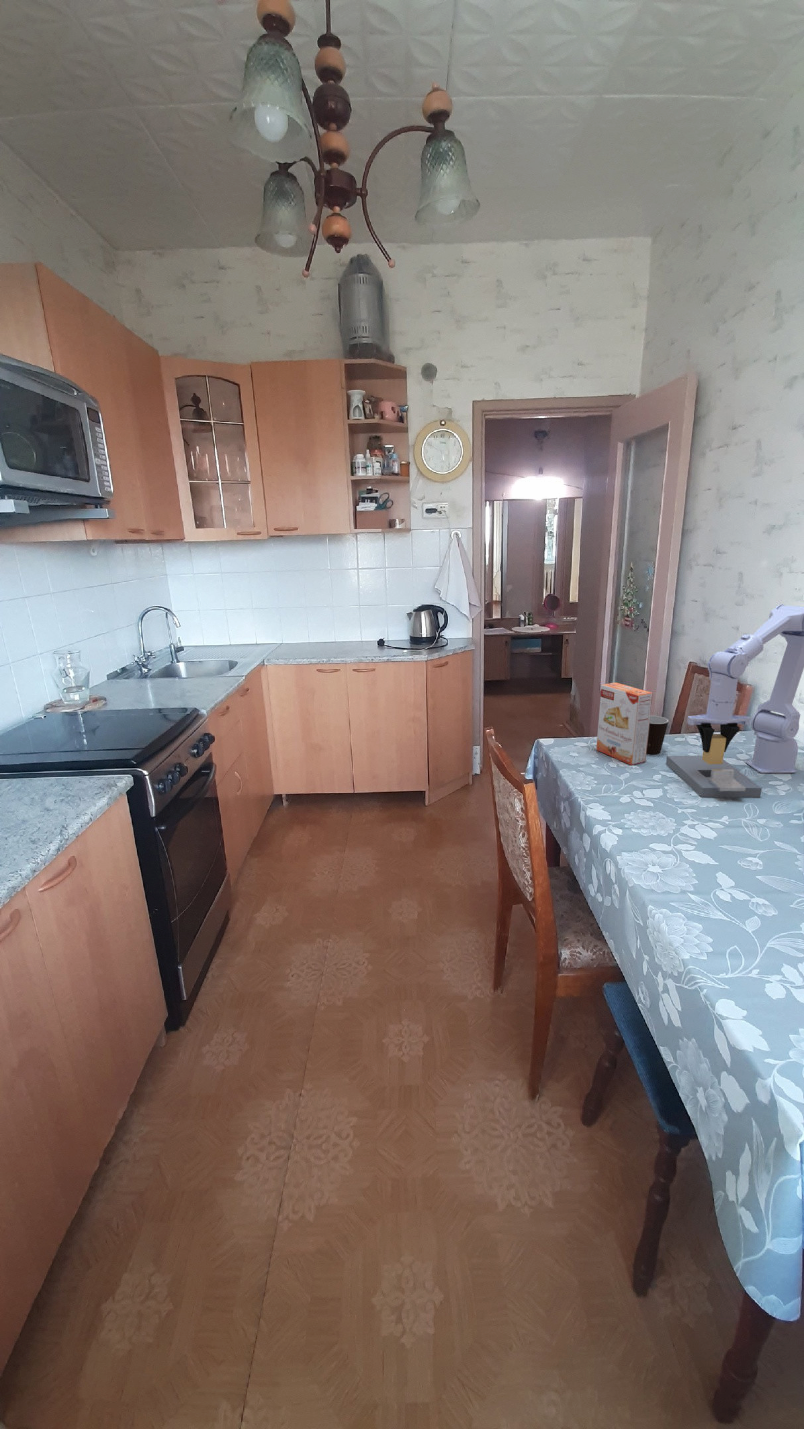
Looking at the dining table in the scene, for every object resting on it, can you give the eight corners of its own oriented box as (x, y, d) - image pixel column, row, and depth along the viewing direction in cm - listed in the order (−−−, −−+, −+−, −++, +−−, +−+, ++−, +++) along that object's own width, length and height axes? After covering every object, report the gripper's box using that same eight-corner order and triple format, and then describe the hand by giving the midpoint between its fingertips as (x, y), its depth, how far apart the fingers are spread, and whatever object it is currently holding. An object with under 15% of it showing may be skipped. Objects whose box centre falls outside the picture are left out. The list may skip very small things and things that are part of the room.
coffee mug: (669, 755, 166) (673, 723, 163) (640, 756, 166) (643, 724, 163) (653, 742, 177) (657, 712, 174) (625, 743, 178) (628, 712, 175)
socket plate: (716, 763, 160) (718, 755, 159) (760, 797, 139) (761, 787, 138) (666, 763, 160) (667, 755, 160) (701, 797, 139) (702, 787, 139)
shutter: (732, 781, 142) (734, 769, 141) (745, 791, 136) (747, 778, 135) (707, 781, 142) (709, 769, 141) (719, 791, 136) (721, 778, 135)
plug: (722, 764, 144) (726, 738, 142) (708, 764, 144) (712, 738, 142) (715, 759, 148) (719, 733, 146) (702, 759, 148) (705, 733, 146)
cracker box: (594, 750, 172) (600, 683, 166) (609, 747, 174) (615, 681, 168) (630, 766, 159) (637, 694, 153) (646, 762, 162) (654, 691, 156)
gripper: (742, 695, 145) (735, 745, 148) (684, 696, 145) (678, 745, 149) (758, 703, 138) (749, 755, 142) (697, 703, 139) (690, 755, 142)
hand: (713, 751), depth 145 cm, fingers closed on plug, 3 cm apart
